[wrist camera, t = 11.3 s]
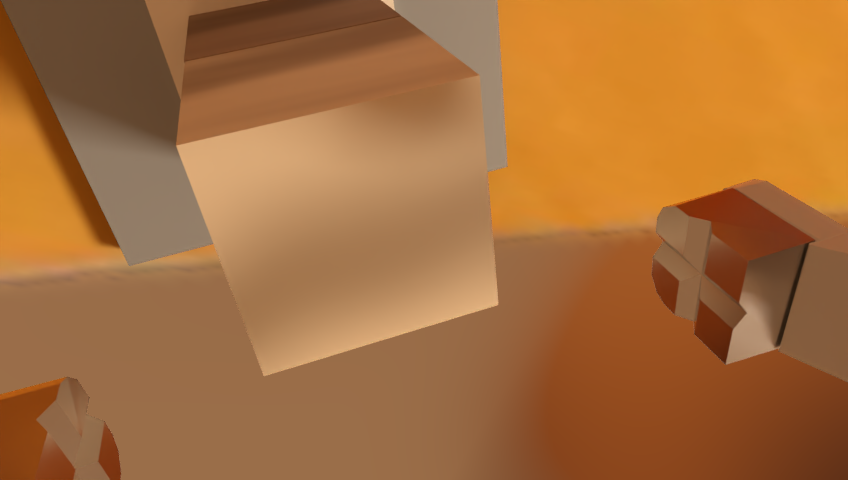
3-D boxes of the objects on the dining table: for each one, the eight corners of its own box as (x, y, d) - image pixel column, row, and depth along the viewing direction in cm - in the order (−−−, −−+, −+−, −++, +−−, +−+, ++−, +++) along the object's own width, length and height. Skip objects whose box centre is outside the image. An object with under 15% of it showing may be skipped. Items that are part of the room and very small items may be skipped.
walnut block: (188, 15, 18) (183, 61, 14) (357, -18, 19) (401, 15, 14) (239, 171, 20) (248, 247, 16) (385, 135, 21) (427, 200, 17)
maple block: (184, 61, 14) (175, 145, 9) (401, 16, 14) (479, 74, 10) (249, 248, 16) (263, 375, 12) (428, 200, 17) (498, 304, 13)
